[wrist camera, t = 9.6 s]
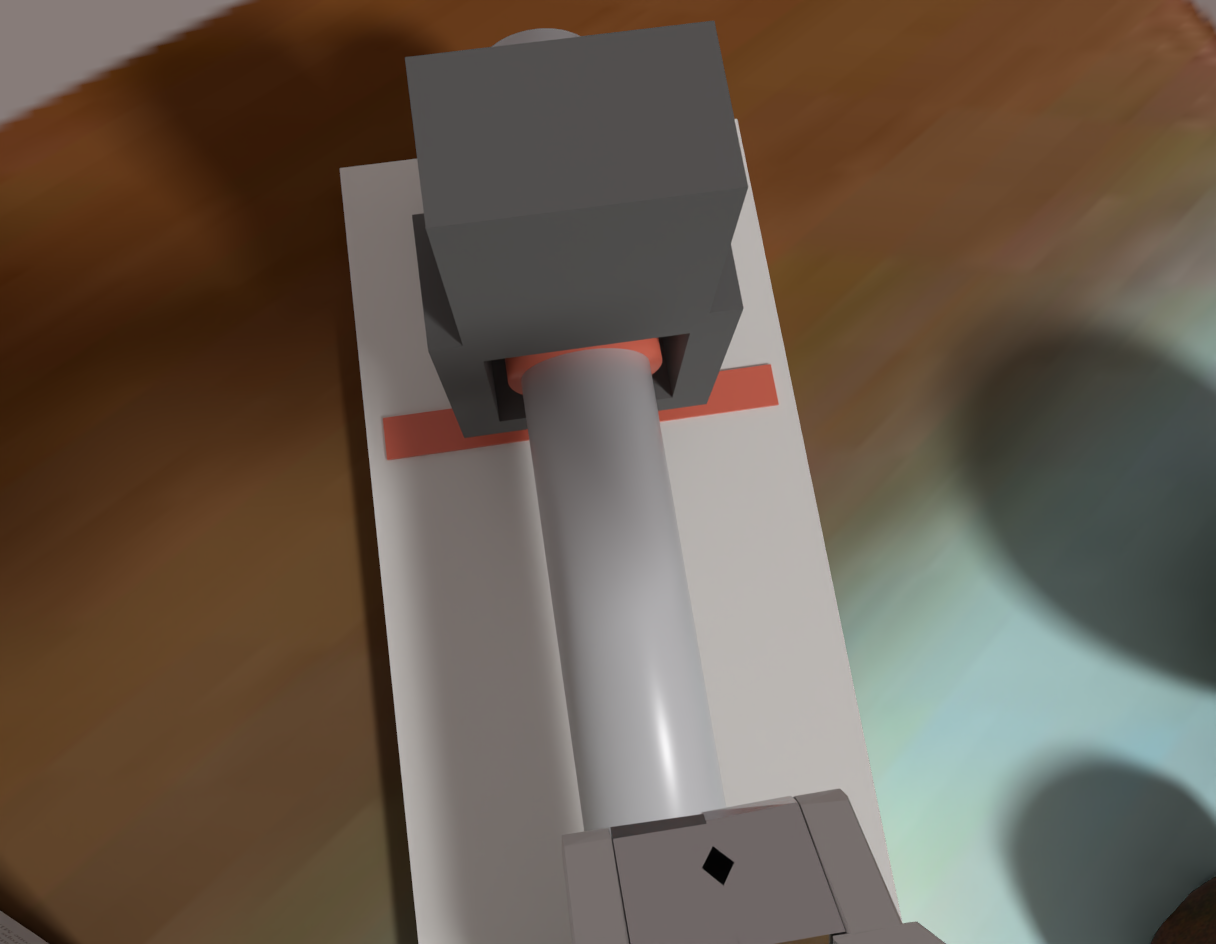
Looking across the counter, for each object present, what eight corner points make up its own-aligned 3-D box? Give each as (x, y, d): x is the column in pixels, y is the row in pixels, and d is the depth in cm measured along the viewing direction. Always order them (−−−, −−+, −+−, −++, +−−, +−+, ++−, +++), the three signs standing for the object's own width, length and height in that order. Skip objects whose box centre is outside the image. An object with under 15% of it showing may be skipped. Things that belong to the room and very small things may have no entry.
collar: (706, 403, 27) (792, 181, 16) (464, 438, 27) (379, 234, 16) (687, 298, 28) (756, 15, 17) (450, 330, 27) (360, 61, 16)
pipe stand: (925, 1088, 26) (1069, 1240, 18) (449, 1175, 25) (391, 1371, 17) (732, 137, 32) (778, -45, 24) (347, 185, 31) (271, 13, 24)
